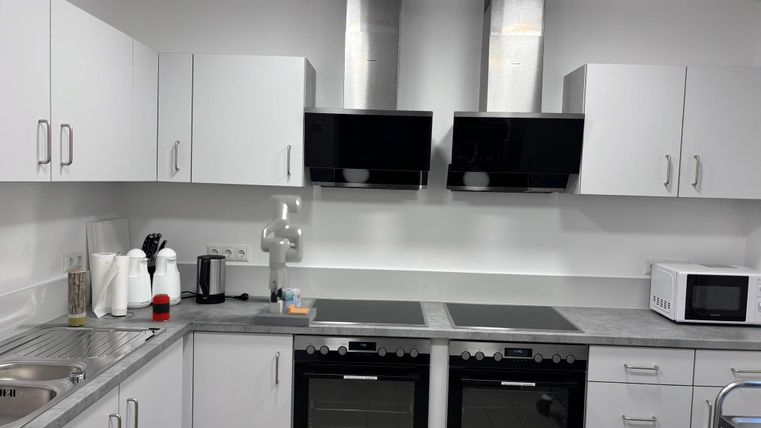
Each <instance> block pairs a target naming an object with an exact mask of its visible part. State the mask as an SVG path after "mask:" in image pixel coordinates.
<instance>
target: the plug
mask: <svg viewBox="0 0 761 428" xmlns="http://www.w3.org/2000/svg"><path fill="white" fill-rule="evenodd" d="M269 306H270V313H282V300H279V297H278V298H277V303H271V302H269Z"/></svg>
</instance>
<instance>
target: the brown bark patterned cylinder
mask: <svg viewBox="0 0 761 428" xmlns="http://www.w3.org/2000/svg"><path fill="white" fill-rule="evenodd" d="M86 274H87V273H86V269H84V268H77V269H75V268H74V269H69V270H67V298H68V299H67V309H68V310H67V313H68V314H67V317H68V318H67V319H68V320H67V322H68V323H67V324H68V326H69V325H71V326H76V325H82V324H85V323H87V321H86V320H87V317H86V316H87V310H86V309H87V307H86V306H87V303H86V301H87V300H86V299H87V298H86V295H87V294H86V291H87V289H86V287H87V285H86V281H87V280H86V279H87V278H86ZM85 325H86V324H85Z"/></svg>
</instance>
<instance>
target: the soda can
mask: <svg viewBox="0 0 761 428" xmlns="http://www.w3.org/2000/svg"><path fill="white" fill-rule="evenodd" d="M170 308H171V297H170V296H169V295H168V293H167V294H166V293H158V294H155V295H153V297H152V316H151V317H152V319H153V320H155V321H164V320H168V319H169V320H170V316H171V315H170V314H171V311H170V310H171V309H170ZM153 320H152V321H153ZM169 320H168V321H169Z"/></svg>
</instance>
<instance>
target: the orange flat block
mask: <svg viewBox="0 0 761 428" xmlns="http://www.w3.org/2000/svg"><path fill="white" fill-rule="evenodd" d="M308 308H309V307H305V308H294V304H291V305H290V306H289V307H288V314H302V315H306V314H307V313H308V312H309V310H310V309H308Z"/></svg>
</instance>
